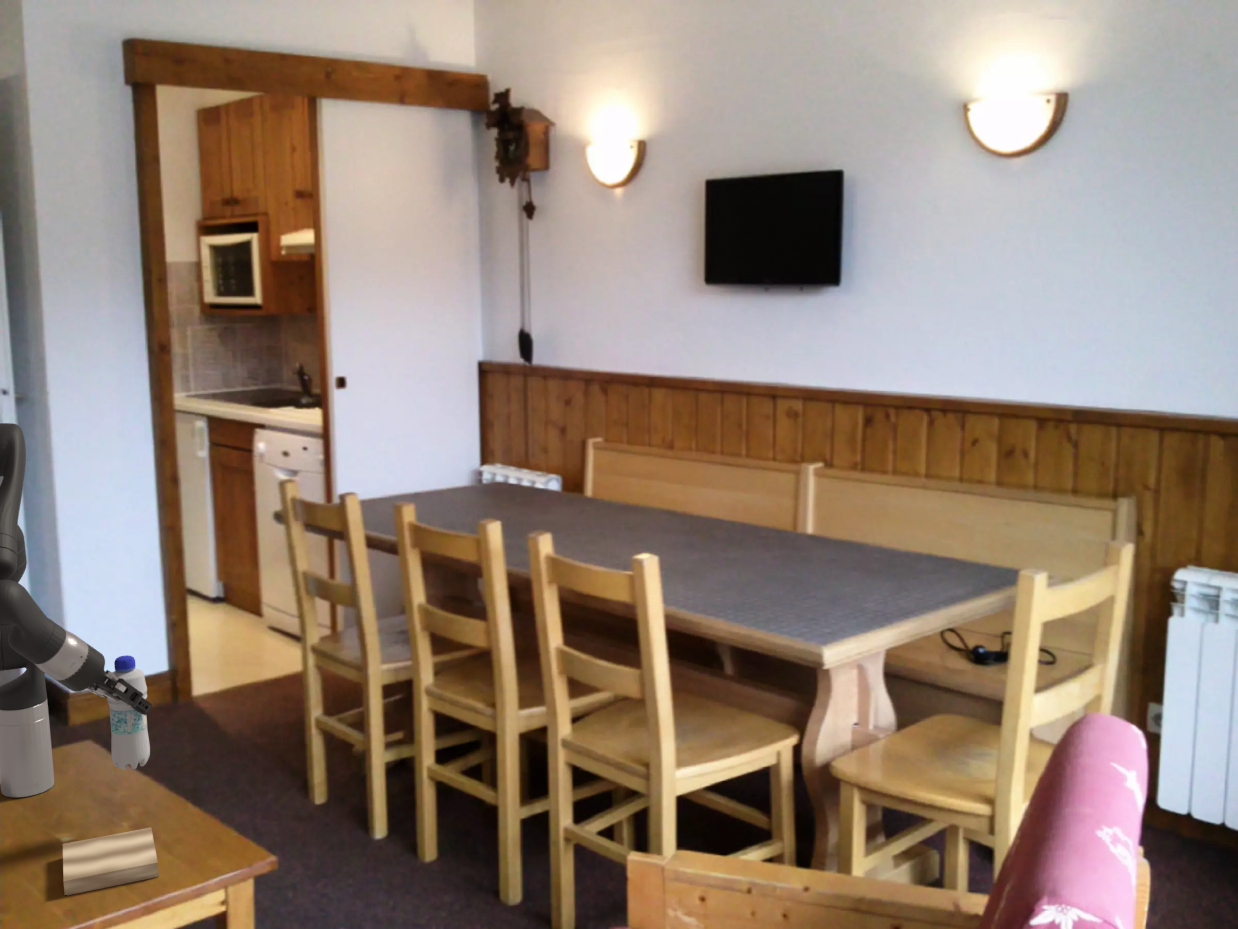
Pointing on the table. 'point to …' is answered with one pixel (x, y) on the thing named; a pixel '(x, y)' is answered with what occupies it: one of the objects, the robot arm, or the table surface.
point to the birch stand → (109, 861)
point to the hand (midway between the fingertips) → (135, 705)
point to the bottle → (128, 720)
